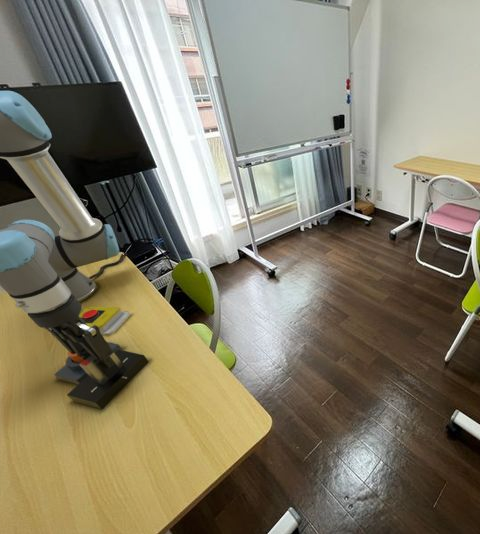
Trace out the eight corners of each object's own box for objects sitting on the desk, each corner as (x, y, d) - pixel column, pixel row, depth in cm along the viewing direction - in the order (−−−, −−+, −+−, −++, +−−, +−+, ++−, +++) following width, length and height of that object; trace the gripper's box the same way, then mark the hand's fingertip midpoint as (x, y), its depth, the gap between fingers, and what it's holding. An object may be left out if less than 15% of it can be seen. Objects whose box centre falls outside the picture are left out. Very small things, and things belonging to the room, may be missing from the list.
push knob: (86, 346, 82) (81, 340, 81) (99, 349, 81) (94, 343, 80) (68, 360, 78) (63, 354, 77) (82, 364, 77) (77, 358, 76)
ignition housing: (100, 344, 87) (93, 335, 85) (122, 349, 86) (115, 339, 83) (58, 379, 78) (49, 370, 76) (81, 385, 76) (72, 376, 74)
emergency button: (82, 303, 96) (125, 303, 95) (89, 313, 99) (132, 313, 98) (57, 324, 89) (104, 324, 88) (66, 334, 91) (111, 334, 90)
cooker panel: (123, 356, 83) (117, 348, 82) (153, 362, 81) (148, 355, 79) (73, 401, 72) (66, 394, 71) (107, 411, 70) (100, 403, 68)
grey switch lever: (117, 363, 78) (102, 344, 73) (123, 365, 77) (108, 345, 73) (96, 383, 73) (78, 364, 68) (102, 385, 72) (85, 365, 68)
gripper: (1, 309, 60) (69, 378, 73) (60, 321, 56) (120, 391, 70) (41, 286, 66) (97, 354, 79) (97, 296, 62) (146, 365, 76)
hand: (108, 371), depth 74 cm, fingers open, 3 cm apart
